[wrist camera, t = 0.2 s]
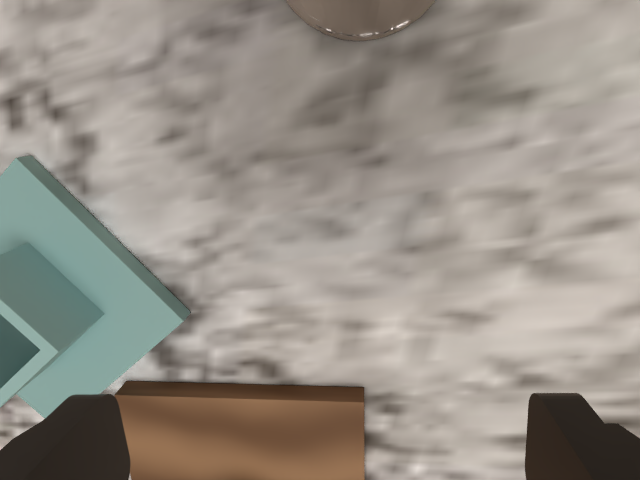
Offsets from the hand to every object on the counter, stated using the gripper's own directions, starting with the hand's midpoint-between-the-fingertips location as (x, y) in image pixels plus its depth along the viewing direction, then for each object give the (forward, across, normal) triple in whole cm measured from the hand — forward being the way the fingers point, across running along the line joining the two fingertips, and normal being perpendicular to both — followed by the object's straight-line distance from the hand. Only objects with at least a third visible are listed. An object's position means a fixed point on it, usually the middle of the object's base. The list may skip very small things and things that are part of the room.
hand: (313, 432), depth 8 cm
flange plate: (+17, +19, +4) cm, 26 cm away
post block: (+18, +8, +18) cm, 27 cm away
